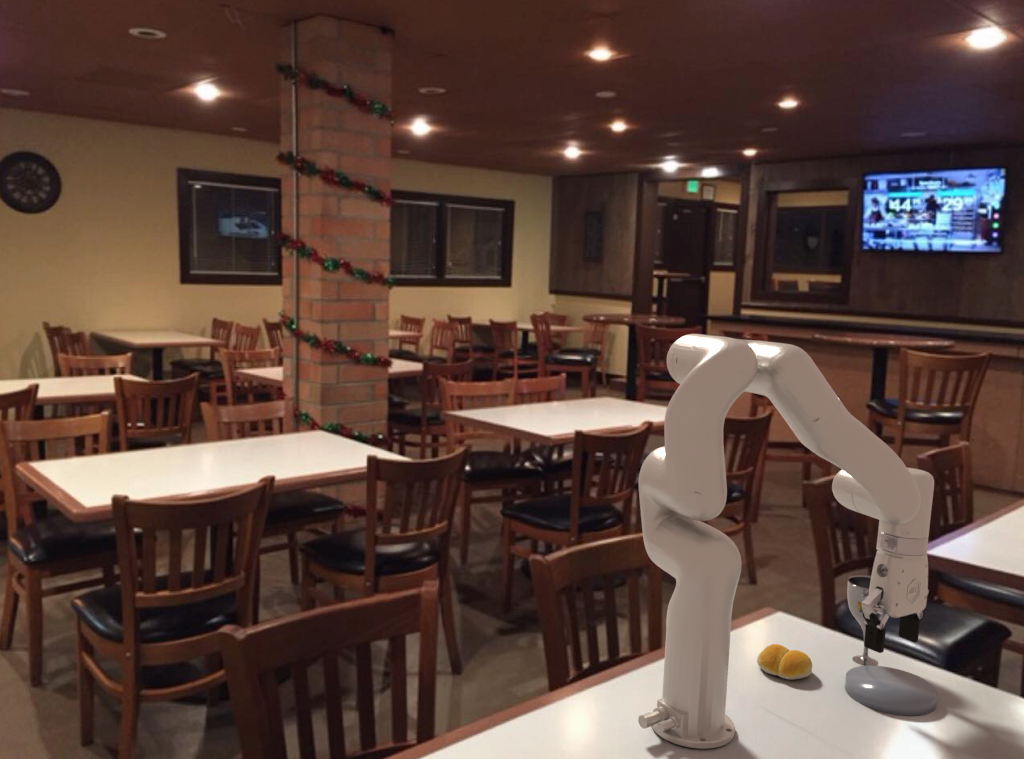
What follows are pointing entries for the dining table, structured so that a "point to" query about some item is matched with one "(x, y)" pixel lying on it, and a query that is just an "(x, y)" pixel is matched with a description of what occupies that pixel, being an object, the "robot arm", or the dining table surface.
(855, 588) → the wine glass
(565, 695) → the dining table surface
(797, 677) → the bread roll
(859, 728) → the dining table surface
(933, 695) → the plate
